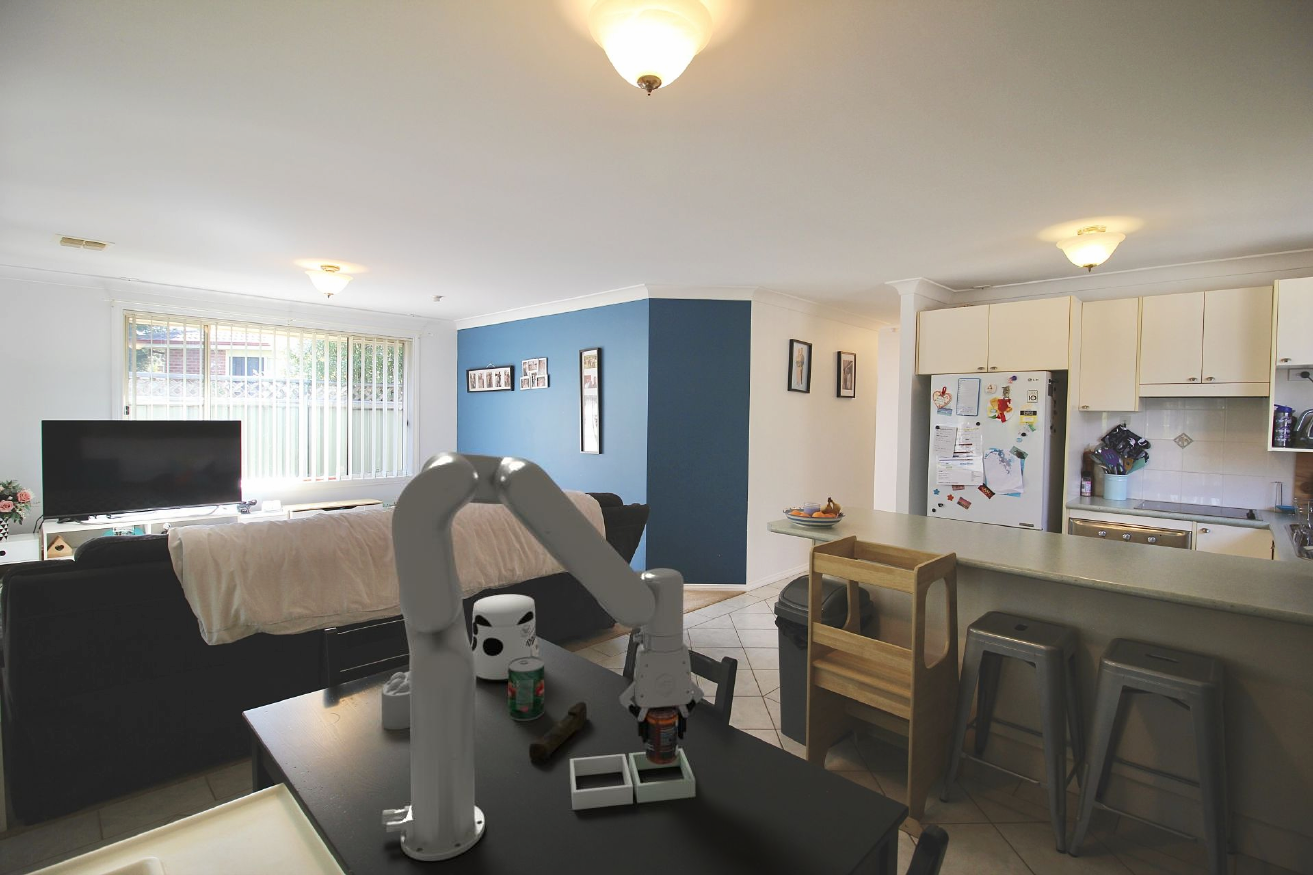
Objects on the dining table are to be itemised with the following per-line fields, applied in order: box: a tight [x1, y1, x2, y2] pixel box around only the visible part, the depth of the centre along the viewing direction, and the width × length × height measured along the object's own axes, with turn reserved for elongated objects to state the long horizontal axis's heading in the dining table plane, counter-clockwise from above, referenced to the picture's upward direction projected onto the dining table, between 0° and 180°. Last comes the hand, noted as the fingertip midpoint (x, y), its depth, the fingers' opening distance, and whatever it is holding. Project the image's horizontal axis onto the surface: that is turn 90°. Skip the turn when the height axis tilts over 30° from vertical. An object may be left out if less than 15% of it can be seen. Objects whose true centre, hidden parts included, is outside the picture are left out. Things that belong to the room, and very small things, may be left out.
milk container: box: [470, 593, 540, 682], centre depth 157 cm, size 17×17×18 cm
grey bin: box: [569, 753, 634, 811], centre depth 110 cm, size 10×10×3 cm
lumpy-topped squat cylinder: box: [381, 670, 410, 730], centre depth 136 cm, size 10×13×9 cm
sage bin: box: [628, 747, 696, 804], centre depth 112 cm, size 10×10×3 cm
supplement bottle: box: [644, 706, 679, 765], centre depth 112 cm, size 6×6×11 cm
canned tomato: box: [507, 657, 545, 722], centre depth 137 cm, size 8×8×11 cm
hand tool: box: [528, 701, 588, 764], centre depth 126 cm, size 19×4×5 cm, turn 155°
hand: (661, 736), depth 112 cm, fingers closed on supplement bottle, 6 cm apart
